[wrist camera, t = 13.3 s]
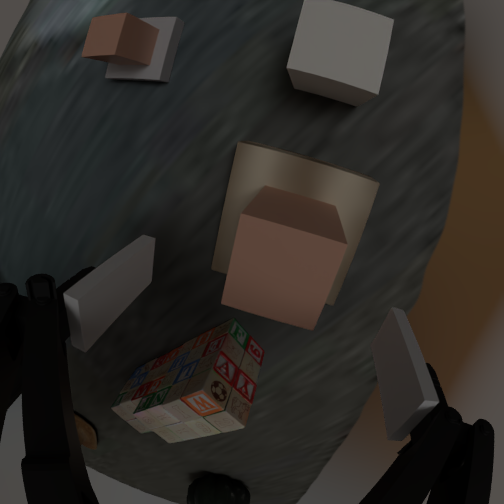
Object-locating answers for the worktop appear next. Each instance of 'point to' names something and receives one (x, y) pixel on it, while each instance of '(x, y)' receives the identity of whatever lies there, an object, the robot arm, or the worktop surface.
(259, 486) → the worktop surface
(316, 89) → the off-white block
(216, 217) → the worktop surface
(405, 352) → the robot arm
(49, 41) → the worktop surface
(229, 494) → the squash
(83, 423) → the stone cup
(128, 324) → the worktop surface
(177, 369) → the stack of blocks
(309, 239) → the terracotta block
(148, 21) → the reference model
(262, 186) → the birch base block
